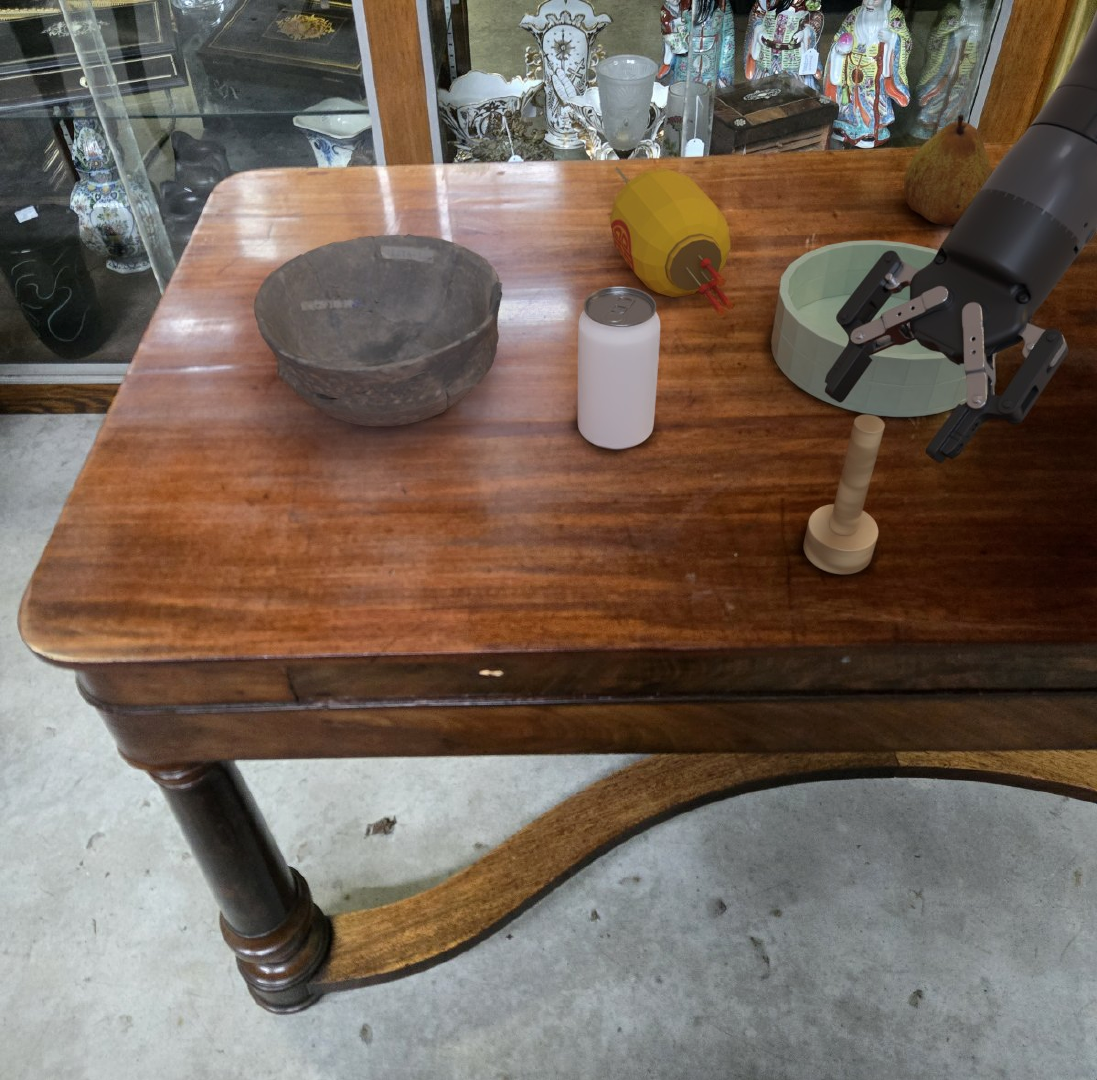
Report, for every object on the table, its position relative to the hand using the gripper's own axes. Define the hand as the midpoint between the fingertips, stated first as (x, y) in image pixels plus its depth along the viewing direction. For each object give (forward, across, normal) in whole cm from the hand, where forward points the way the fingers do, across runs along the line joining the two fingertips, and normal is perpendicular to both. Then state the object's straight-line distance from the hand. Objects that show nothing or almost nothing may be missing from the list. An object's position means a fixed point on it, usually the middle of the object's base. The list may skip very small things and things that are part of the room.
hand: (880, 427), depth 70 cm
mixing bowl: (-7, -15, +23) cm, 28 cm away
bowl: (+20, -38, -4) cm, 43 cm away
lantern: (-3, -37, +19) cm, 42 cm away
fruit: (-26, -27, +42) cm, 56 cm away
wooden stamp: (+9, 0, +7) cm, 11 cm away
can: (+11, -22, +5) cm, 25 cm away
